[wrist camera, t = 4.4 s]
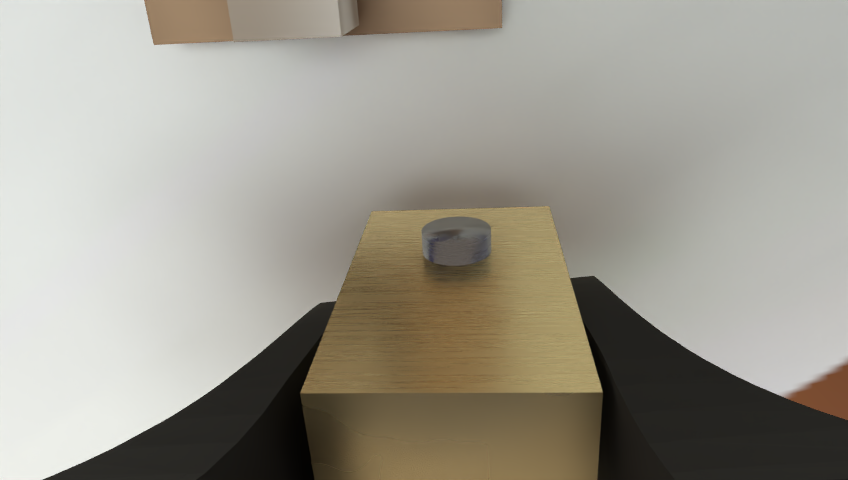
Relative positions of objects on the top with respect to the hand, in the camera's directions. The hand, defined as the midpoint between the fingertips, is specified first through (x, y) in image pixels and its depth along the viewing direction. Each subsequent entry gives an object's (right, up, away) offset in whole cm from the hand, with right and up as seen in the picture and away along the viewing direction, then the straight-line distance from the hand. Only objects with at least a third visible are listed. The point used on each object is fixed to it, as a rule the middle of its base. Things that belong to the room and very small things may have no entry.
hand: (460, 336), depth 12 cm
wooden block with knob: (0, +1, +2) cm, 2 cm away
